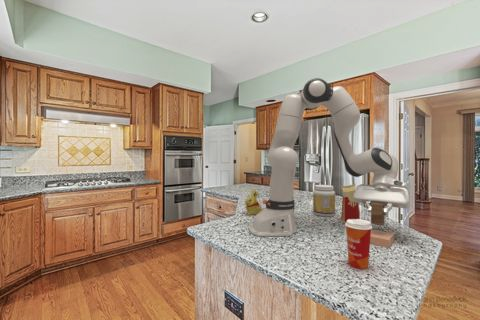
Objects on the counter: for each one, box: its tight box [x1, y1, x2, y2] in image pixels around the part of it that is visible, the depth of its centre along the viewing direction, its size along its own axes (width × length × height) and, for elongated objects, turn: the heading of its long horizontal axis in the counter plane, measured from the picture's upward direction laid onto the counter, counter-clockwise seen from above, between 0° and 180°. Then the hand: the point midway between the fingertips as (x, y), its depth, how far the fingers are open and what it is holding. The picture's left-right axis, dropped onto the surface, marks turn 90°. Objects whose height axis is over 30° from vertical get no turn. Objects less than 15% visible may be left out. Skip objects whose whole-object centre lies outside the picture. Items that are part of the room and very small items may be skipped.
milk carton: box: [340, 183, 361, 224], centre depth 124 cm, size 9×9×20 cm
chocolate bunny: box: [244, 188, 263, 216], centre depth 138 cm, size 7×11×15 cm, turn 112°
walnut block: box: [370, 202, 386, 226], centre depth 96 cm, size 4×4×8 cm
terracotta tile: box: [370, 228, 395, 249], centre depth 96 cm, size 10×10×3 cm
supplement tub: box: [312, 184, 336, 218], centre depth 138 cm, size 12×12×17 cm
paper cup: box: [344, 218, 373, 270], centre depth 75 cm, size 8×8×14 cm
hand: (377, 212), depth 95 cm, fingers closed on walnut block, 4 cm apart
